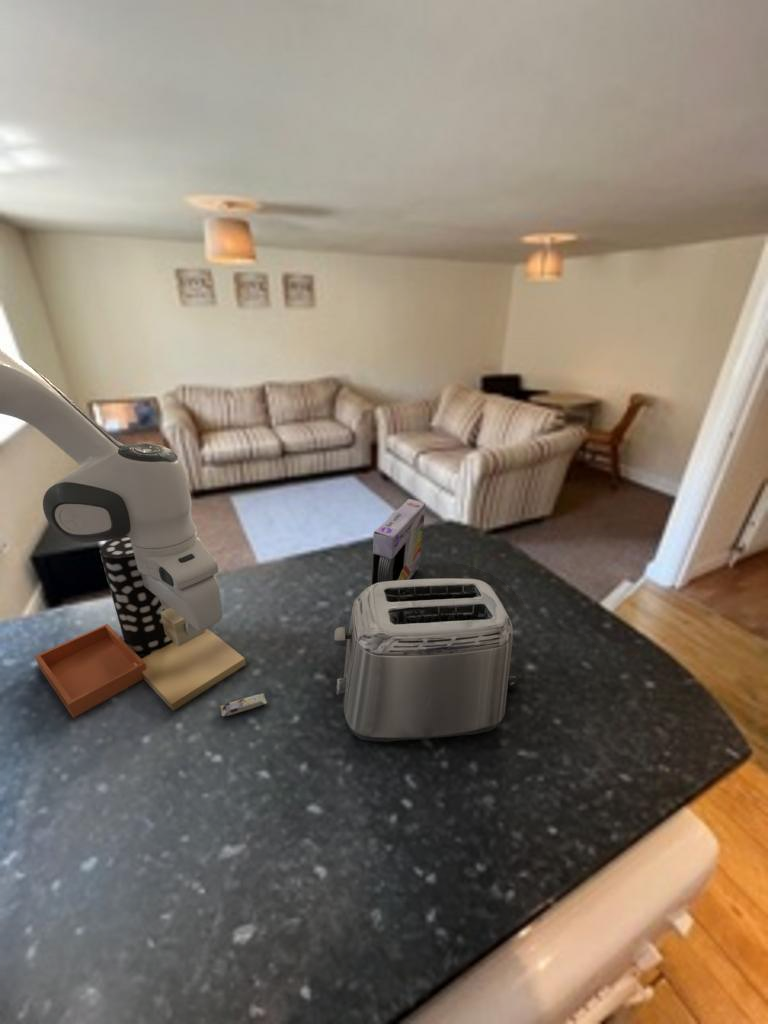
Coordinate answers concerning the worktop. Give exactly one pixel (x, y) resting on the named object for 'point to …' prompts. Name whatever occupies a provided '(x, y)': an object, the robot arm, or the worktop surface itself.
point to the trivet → (190, 668)
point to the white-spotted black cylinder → (133, 599)
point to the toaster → (425, 660)
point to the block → (176, 627)
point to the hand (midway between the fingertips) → (183, 625)
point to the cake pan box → (398, 543)
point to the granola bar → (243, 704)
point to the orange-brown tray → (90, 668)
